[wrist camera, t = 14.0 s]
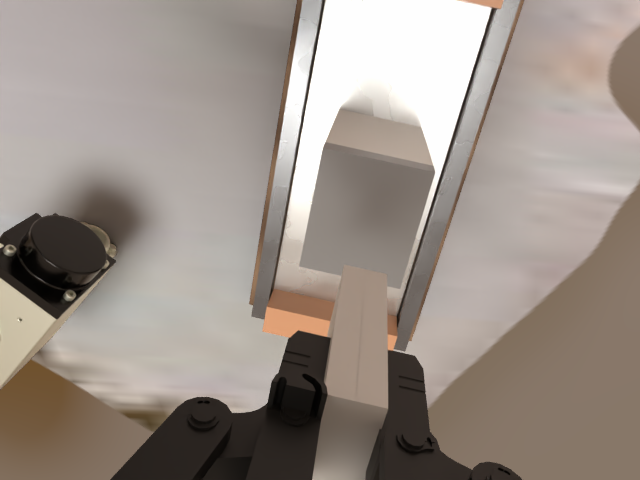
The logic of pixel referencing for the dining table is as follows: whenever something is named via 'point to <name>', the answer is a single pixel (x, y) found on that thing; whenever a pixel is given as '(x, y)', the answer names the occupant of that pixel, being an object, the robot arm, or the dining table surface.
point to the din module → (368, 197)
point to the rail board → (383, 102)
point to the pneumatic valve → (45, 282)
